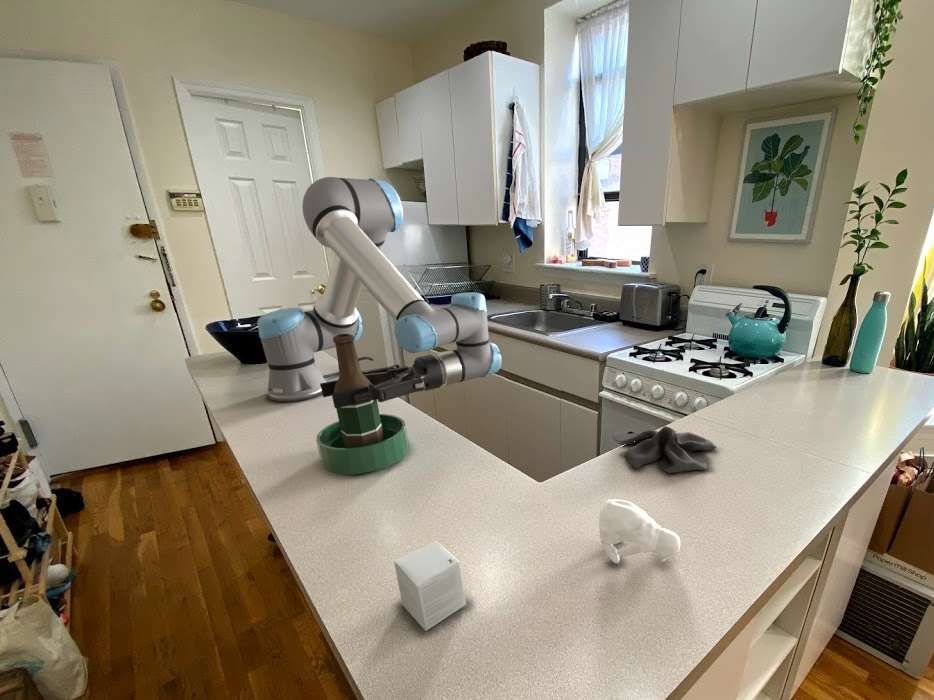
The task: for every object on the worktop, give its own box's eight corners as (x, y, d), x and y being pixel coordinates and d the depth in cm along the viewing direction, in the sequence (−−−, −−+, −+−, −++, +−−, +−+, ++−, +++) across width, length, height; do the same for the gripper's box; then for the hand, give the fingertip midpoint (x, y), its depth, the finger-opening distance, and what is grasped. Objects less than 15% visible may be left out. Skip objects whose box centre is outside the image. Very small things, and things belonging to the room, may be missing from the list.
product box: (442, 581, 64) (436, 538, 61) (467, 605, 60) (461, 561, 57) (401, 605, 60) (392, 560, 57) (424, 633, 56) (416, 586, 53)
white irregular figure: (604, 487, 69) (686, 503, 67) (598, 533, 73) (675, 549, 70) (598, 512, 63) (688, 530, 61) (591, 560, 67) (676, 578, 65)
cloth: (717, 439, 102) (720, 414, 100) (713, 481, 86) (718, 452, 84) (618, 426, 109) (619, 402, 107) (598, 463, 93) (599, 436, 91)
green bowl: (348, 436, 107) (343, 413, 104) (420, 438, 105) (417, 414, 103) (305, 475, 91) (297, 448, 89) (389, 478, 90) (384, 450, 87)
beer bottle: (345, 443, 99) (321, 333, 90) (383, 436, 102) (364, 329, 92) (345, 459, 93) (319, 342, 83) (386, 452, 95) (365, 337, 86)
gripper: (460, 398, 97) (348, 429, 84) (419, 376, 111) (317, 399, 98) (456, 364, 94) (339, 390, 81) (415, 345, 108) (309, 365, 95)
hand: (327, 395), depth 89 cm, fingers closed on beer bottle, 7 cm apart
